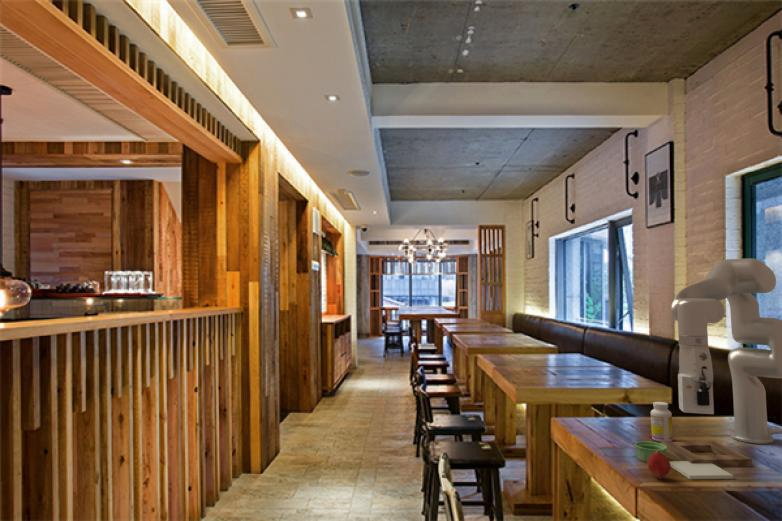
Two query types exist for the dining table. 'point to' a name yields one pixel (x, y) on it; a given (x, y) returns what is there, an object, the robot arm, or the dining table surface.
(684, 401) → the small box
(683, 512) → the dining table surface
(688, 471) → the cream square tile
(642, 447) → the ramekin
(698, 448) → the holder block
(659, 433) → the supplement bottle
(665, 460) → the onion
